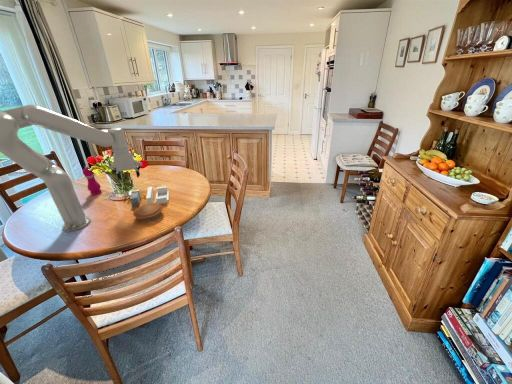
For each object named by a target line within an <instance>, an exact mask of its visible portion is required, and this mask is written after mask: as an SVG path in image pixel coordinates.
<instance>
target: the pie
mask: <svg viewBox="0 0 512 384" xmlns="http://www.w3.org/2000/svg"><path fill="white" fill-rule="evenodd" d="M163 208H164V207H163V204H157V203H156V202H155V203H154V202H153V203H150V204H148V203H145V204H143V205H141V206H140V205H139V206H138V207H137V208H136V209H134V211H133V213H132V214H133V217H135V218H137V219H139V220H140V221H143V222H150V221H153V220H156V219H158V217H160V215H161V213H162V211H163Z"/></svg>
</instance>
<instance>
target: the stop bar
mask: <svg viewBox="0 0 512 384" xmlns="http://www.w3.org/2000/svg"><path fill="white" fill-rule="evenodd" d="M129 197H130V198H129V201H130V204H131V207H137V206H138V207H140V205H141V200H142V195H141V190H140V189H132V190H131V192H130V196H129Z"/></svg>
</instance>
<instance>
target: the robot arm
mask: <svg viewBox="0 0 512 384" xmlns="http://www.w3.org/2000/svg"><path fill="white" fill-rule="evenodd" d="M31 126H37V127H40V128H42V129H45V130H49V131H52V132H56V133H59V134H62V135H65V136H68V137H71V138H74V139H77V140H80V141H85V142H88V143H91V144H94V145H97V146H99V147H103V148H108V147H112V149H110V152H111V153H112V152H113V154H112V157H113V158H112V159H113V162H114V163H113V164H112V165H110V166H109V167H108V168H109V170H111V171H112V172H113V173H115V174H116V175H117V178H118V179H119V181H121V180H123V179H122V177H123V176H122V174H121V172H124V171H132V170H134V171H135V174H136V178H140V176H141V173H140V169H141V168H142V164H143V163H142V162H140V161H137V160H135V158H134V156H133V154H132V152H131V151H130V149H129V146H128V141H127V138H126V135H125V132H124V130H123V128H121V127H111V128H108V129H98V128H95V127H92V126H90V125H88V124H86V123H83V122H81V121H79V120H77V119H75V118H71V117H69V116H67V115H64V114H61V113H57V112H56V111H53V110H51V109H48V108H46V107H42V106H39V105H37V104H36V105H35V104H26V105H23V106H22V105H21V106H19V107H15V108H14V107H13V108H10V109H9V108H8V109H6V110H1V111H0V153H1V154H3V156H5V157H7V158H8V159H9V160H11V161H12V162H14V163H15V164H17V165H18V166H20V168H22V169H23V170H24V171H25V172H27V173H30V174H33V175H34V176H35V177H37V178H39V179H41V180H42V181H43V183H44V184H45V185H46V187H47V189H48V192H49V194H50V196H51V198H52V201H53V202H54V205H55V206H56V208H57V211H58V213H59V214H60V217H61V219H62V221H63V225H62V229H63V231H64V232H65V233H68V232H73V231H77V230H80V229H83V228H85V227H86V226H88V225H89V224H90V223H91V221H92V219H91V217H90V216H86V214H85V211H84V209H83V207H82V205H81V202H80V200H79V198H78V195H77V193H76V191H75V188H74V185H73V181H72V179H71V177H70V176H69V174H68V173H67V172H66V171H65V170H64V169H62V168H61V167H60V166H58V165H57V164H56V163H55V162H53V161H52V160H50V158H49V157H46V156H45V155H44V154H43V153H41V152H40V151H38V150H35V149H33V148H32V147H31V146H29V145H28V144H27V143H25V142H24V141H23V140H21V139H20V138H19V135H18V132H19V130H20V129H23V128H24V129H25V128H28V127H31ZM137 165H138V166H137ZM114 167H115V168H114Z"/></svg>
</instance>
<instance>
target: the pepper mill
mask: <svg viewBox="0 0 512 384" xmlns="http://www.w3.org/2000/svg"><path fill="white" fill-rule="evenodd" d="M90 168H91V167H89V166H88V165H85V166H84V168H83V170H82V174H83V175H84V176H85V178H86V180H87V191H89V193H90V195H92V196H96V195H98V196H99V194H101V193H102V192H103V191H102V189H101V185H100V184H101V183H99V182H98V181H97V180H96V178H95V174H94V173H93V172H91V171H89V170H88V169H90Z"/></svg>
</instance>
